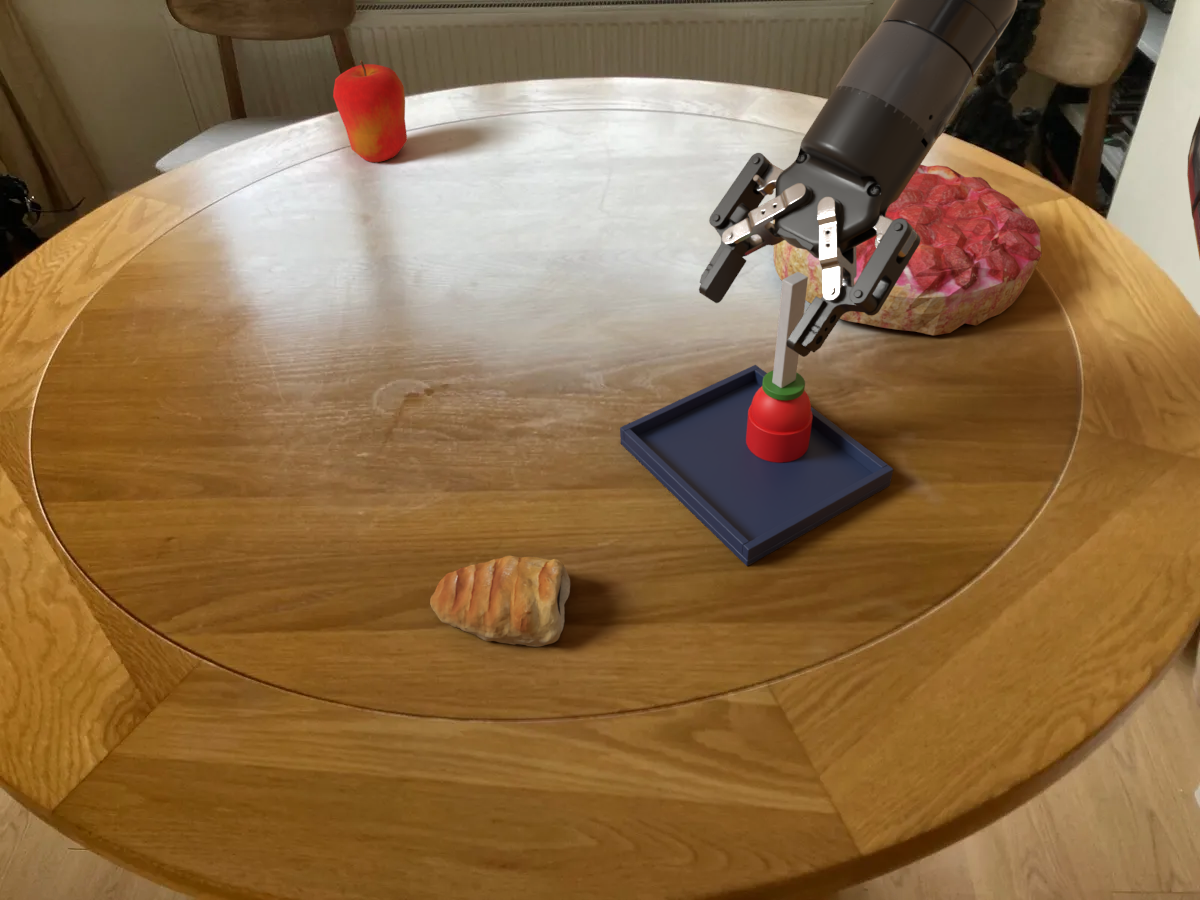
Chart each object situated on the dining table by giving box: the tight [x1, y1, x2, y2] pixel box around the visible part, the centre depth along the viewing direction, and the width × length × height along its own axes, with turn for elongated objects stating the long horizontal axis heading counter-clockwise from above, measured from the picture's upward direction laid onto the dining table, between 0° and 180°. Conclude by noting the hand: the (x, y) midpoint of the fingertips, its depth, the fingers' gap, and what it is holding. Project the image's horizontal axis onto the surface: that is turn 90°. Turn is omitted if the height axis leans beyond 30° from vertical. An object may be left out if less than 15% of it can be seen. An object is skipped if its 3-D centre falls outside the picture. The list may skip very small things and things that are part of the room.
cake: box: [772, 164, 1042, 336], centre depth 94 cm, size 25×25×8 cm
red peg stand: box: [746, 272, 813, 463], centre depth 72 cm, size 5×5×15 cm
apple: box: [332, 59, 408, 163], centre depth 117 cm, size 9×8×12 cm
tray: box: [619, 364, 894, 567], centre depth 76 cm, size 16×14×2 cm
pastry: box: [429, 555, 571, 648], centre depth 65 cm, size 9×7×4 cm
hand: (750, 323), depth 66 cm, fingers open, 8 cm apart
